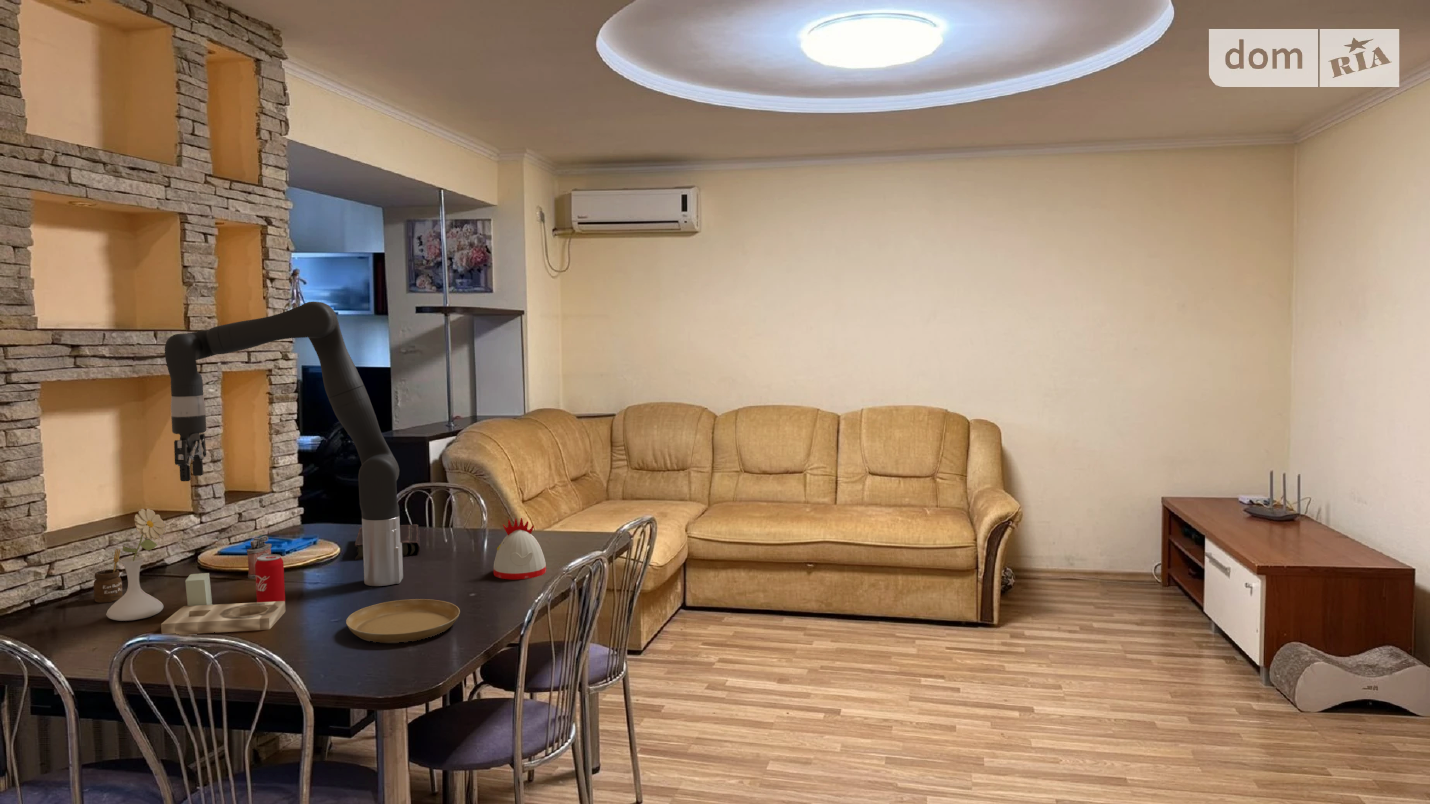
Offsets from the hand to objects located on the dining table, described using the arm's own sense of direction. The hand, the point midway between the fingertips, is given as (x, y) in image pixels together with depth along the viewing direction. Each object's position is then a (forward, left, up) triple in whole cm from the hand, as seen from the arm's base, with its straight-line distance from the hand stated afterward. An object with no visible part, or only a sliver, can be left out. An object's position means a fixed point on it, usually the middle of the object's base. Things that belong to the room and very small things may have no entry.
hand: (192, 478), depth 241 cm
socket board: (-16, +30, -29) cm, 44 cm away
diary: (-40, -40, -30) cm, 64 cm away
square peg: (-7, +20, -29) cm, 36 cm away
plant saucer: (-56, +39, -30) cm, 74 cm away
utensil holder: (+19, +3, -29) cm, 35 cm away
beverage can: (-22, +16, -29) cm, 40 cm away
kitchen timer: (-80, -4, -29) cm, 85 cm away
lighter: (-11, -15, -29) cm, 34 cm away
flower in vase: (+6, +19, -29) cm, 36 cm away
